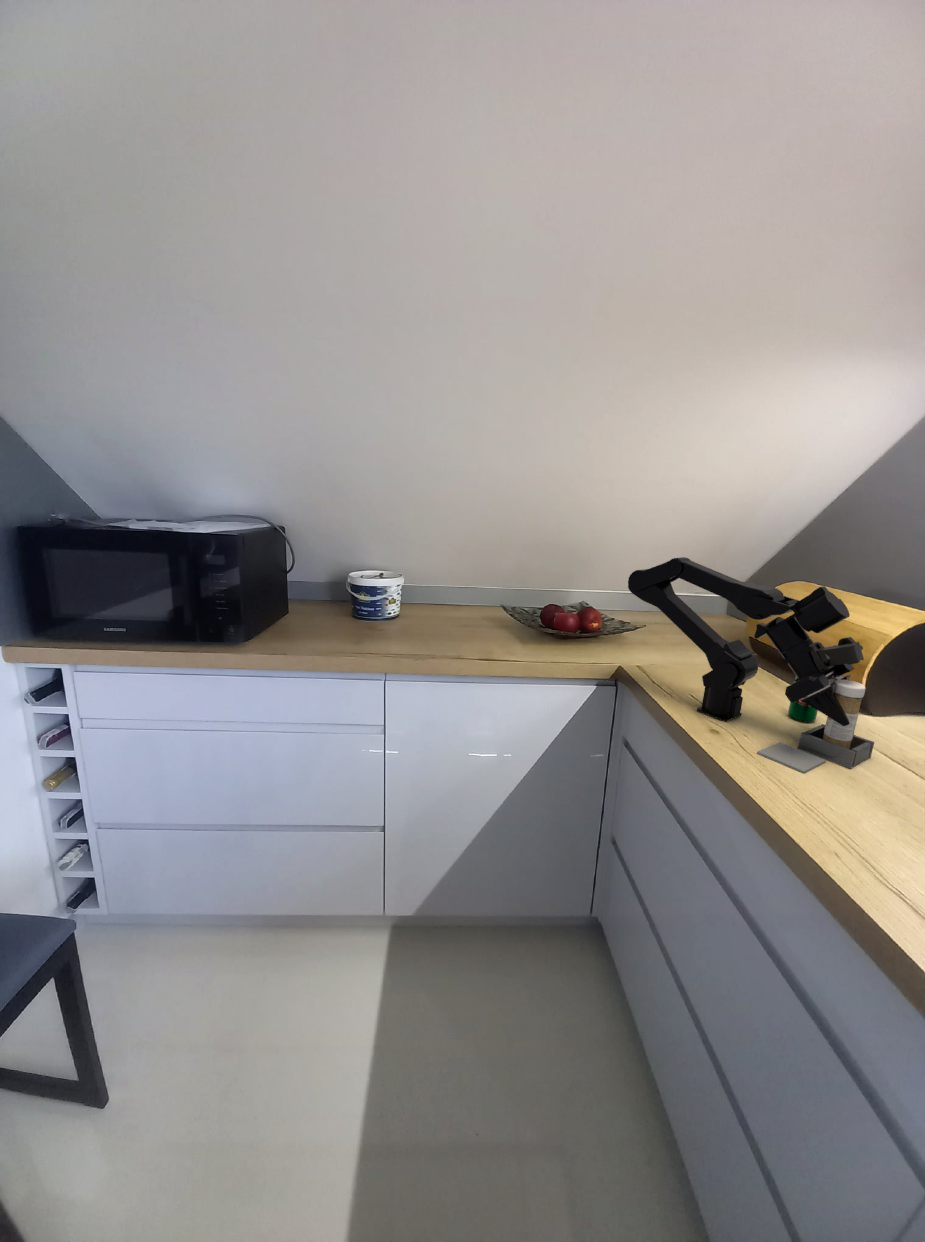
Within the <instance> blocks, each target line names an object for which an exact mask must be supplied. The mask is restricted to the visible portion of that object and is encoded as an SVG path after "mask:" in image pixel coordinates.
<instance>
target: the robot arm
mask: <svg viewBox="0 0 925 1242" xmlns="http://www.w3.org/2000/svg"><path fill="white" fill-rule="evenodd" d="M679 579H681V580H682V581H685V582H687V583H690V584H692V585H694V586H697V587H699V588H701V589H703V590H705V591H707V592H710V593H712V594H714V595H716V596H718V597H720V598H724V599H725V600H727V601H728V602H730V603H731V604H732V606H733V607H735V608H736V609H737V610H738V611H740V612H741V613H743V614H744V615H746V616H747V617H749V618H750V619H752V620H757V621H761V620H765V619H768V618H771V617H775V616H776V617H775V618H774V619H772V620H770V621H768V622H767V623H763V622H761V623H757V624H756V625H755V626H756V629H755V632H754V636H753V637H754V639H756V640H757V639H760V638H762V637H763V638H764V637H765V636H766V637H768V639H769V640H770V641H771V643H772V644H773V646H774V648H776V649H777V651H778V653H779V654H780V655H781V657H782V658H783V659H781V660H780V662H781V664H782V665H783V666H785V665H788V666H789V668H790V669H791V670H792V672H793V674H794V675H795V677H796V676H797V677H798V678H797V679H794V682H795V683H794V682H793V683H791V684H789V685H788V686H785V691H784V692H785V693H784V695H785V696H786V697H787V699H788V701H789V703H790V702H791V703H793V702H795V701H797V700H800V699H802V698H804V697H806V696H807V697H806V698H804V699H802V700H801V702H802V703H806V704H808V705H809V706H811V707H813V708H815V709H816V710H818V712H819V713H821V714H823V715H824V716H827V717H830V718H831V719H833V720H834V721H836V722H838V723H839V724H841V725H842V726H846V725H849V724H850V722H849V720H848V718H847V716H846V714H845V712H844V710H843V709H842V707H841V705H840V703H839V701H838V700H837V698H836V696H835V692H836V687H837V683H835V681H836V680H850V678H851V674H848V675H845V674H847V673H851V672H852V671H854V670H855V667H854V666H853V665H854V664H859V663H860V662H861V661H864V660H865V658H864V655H863V650H864V647H863V646H862V645H861V643H860V642H859V641H855V639H853V637H852V636H849V637H848V636H847V637H842V638H840V639H839V640H838V643H837V645H836V644H835V645H832V646H827V647H825V646H824V644H822V642H819V641H816V642H814V641H813V640H812V637H811V636H809V634H808V633H809V632H813V633H814V634H820V633H822V632H824V631H826V630H828V629H830V628H832V627H833V626H835V625H837V624H839V623H842V622H843V621H844V620H846V619H849V618H850V611H849V609H848V607H847V606H846V604H845V603H844V601H843V600H842V599H841V598H838V597H837V596H836V595H835V594H834V593H833V592H831V591H830V590H829V589H827V587H826V586H823V585H821V586H819V587H818V588H816V589H814V590H813V591H812V592H811V593H810V594H808V595H807V596H805V597H803V598H802V599H800V600H798V599H795V598H792V597H789V596H785V595H784V593H783V592H782V591H781V590H780V589H778V588H776V587H774V586H773V587H772V586H768V585H763V584H759V583H754V582H753V583H752V582H745V581H741V580H738V579H736V578H733V577H731V576H729V575H726V574H724V573H722V572H719V571H717V570H716V569H715V570H714V569H712V568H711V567H707V566H706V565H705V566H704V565H702V564H700V563H698V562H695V561H693V560H691V559H690V558H689V557H684V556H682V557H673V558H671V559H669V560H667V561H665V562H664V563H660V564H659V565H658V564H657V565H656V566H652V567H650V568H647V569H646V568H644V569H643V568H642V569H636V570H634V571H632V572H631V573H630V575H629V576H628V580H627V584H628V585H627V588H628V590H629V591H630V593H631V594H632V595H634V596H635V597H637V598H638V599H640V600H641V601H643V602H645V603H647V604H649V605H651V606H653V607H656V608H657V609H659V611H661V612H662V613H663V614H664V615H665V616H666V617H667V619H669V620H670V621H671V622H672V623H673V624H674V625H675V626H676V627H677V628H678V629H679V630H680V631H681V632H682V633H683V634H684V635H685V636H686V637H687V638H688V639H689V640H690V641H692V642H693V643H694V645H696V646H697V647H698V648H699V650H701V651H702V652H703V654H704V655H705V656H706V660H707V662H708V665H709V667H710V668H711V670H710V671H709V672H707V673H705V674H703V675H701V678H702V683H703V686H704V692H703V697H702V701H701V706H700V707H697V708H696V711H698V712H700V713H702V714H704V715H708V716H710V717H712V718H715V719H718V720H719V721H722V722H727V721H730V720H731V721H732V720H733V719H736V718H739V717H742V714H743V713H741V710H742V705H743V699H744V698H743V696H742V692H743V688H741V686H744V685H745V684H746V682H747V681H749V680H751V679H753V678H754V677H755V676H756V675H757V673H758V670H759V662H758V659H757V658H756V657H755V656H754V655H755V653H756V652H755V651H752V650H750V649H749V648H748V647H746V645H745V644H744V642H742V640H740V639H739V638H737V639H735V640H732V641H728V640H726V639H725V638H723V637H722V636H721V635H720V634H719V633H718V632H716V631H715V630H714V629H713V628H712V626H710V625H709V624H708V623H707V622H706V621H705V620H704V619H703V618H701V617H700V615H698V614H697V612H695V611H694V610H693V609H692V608H691V607H690V606H689V605H688V604H686V603H685V601H683V600H682V599H681V598H680V597H679V596H678V595H677V594H676V593H675V591H674V588H673V585H672V583H673V582H675V581H677V580H679ZM791 612H793V613H792V614H791V615H789V616H788V617H786V618H783V617H781V616H782V615H785V614H788V613H791ZM843 675H845V676H844V677H843ZM834 683H835V684H834Z"/></svg>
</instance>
